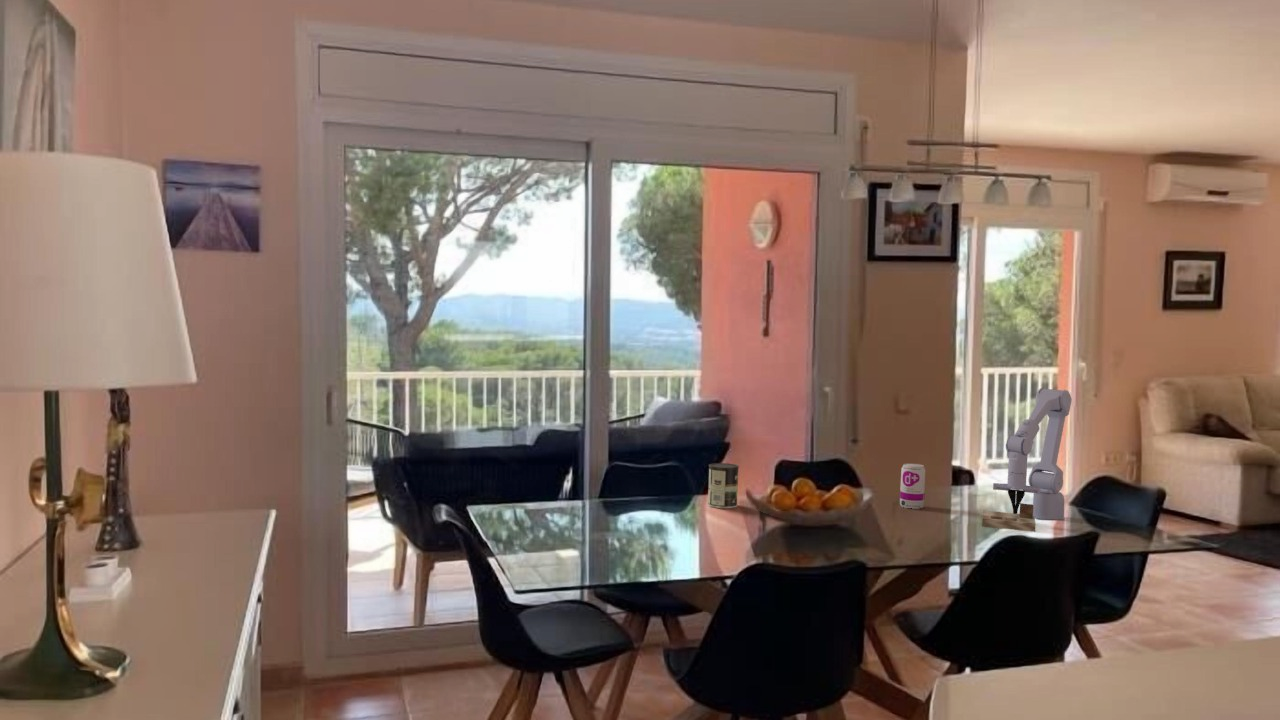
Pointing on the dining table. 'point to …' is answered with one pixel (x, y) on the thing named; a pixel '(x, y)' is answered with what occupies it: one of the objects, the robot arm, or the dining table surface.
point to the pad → (1026, 518)
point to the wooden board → (1006, 521)
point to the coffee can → (723, 485)
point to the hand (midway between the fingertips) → (1015, 513)
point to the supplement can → (912, 486)
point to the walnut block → (1026, 511)
